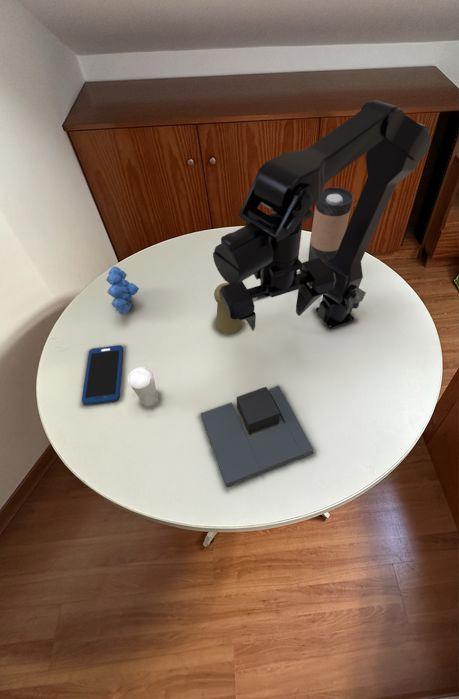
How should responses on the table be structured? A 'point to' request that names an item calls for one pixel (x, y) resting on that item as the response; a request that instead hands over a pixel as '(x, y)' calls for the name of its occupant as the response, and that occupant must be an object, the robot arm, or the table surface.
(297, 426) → the base pad
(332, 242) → the travel mug
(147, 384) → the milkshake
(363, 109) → the robot arm
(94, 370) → the cell phone
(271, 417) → the black block
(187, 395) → the table surface
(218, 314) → the olive pawn
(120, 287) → the grapes
